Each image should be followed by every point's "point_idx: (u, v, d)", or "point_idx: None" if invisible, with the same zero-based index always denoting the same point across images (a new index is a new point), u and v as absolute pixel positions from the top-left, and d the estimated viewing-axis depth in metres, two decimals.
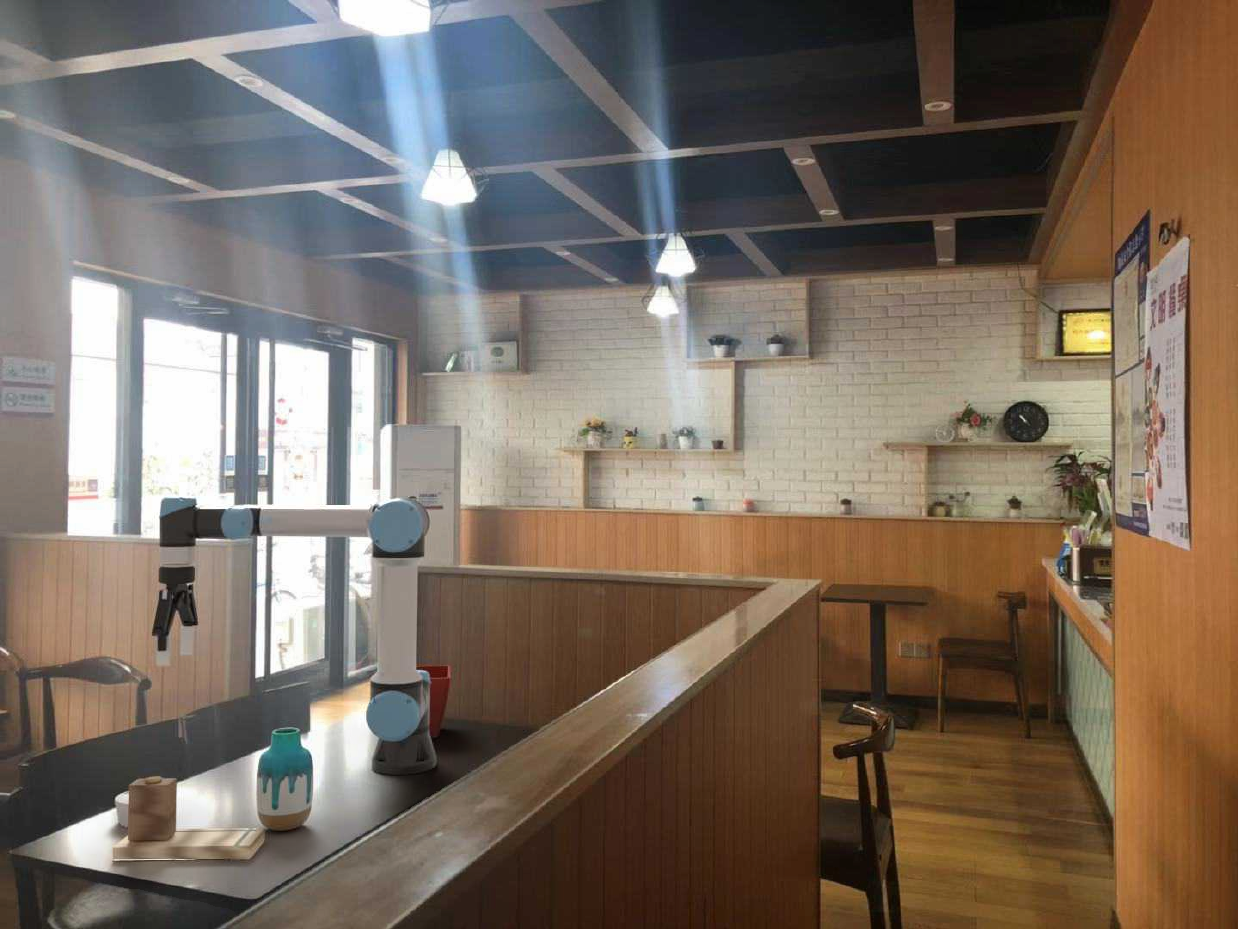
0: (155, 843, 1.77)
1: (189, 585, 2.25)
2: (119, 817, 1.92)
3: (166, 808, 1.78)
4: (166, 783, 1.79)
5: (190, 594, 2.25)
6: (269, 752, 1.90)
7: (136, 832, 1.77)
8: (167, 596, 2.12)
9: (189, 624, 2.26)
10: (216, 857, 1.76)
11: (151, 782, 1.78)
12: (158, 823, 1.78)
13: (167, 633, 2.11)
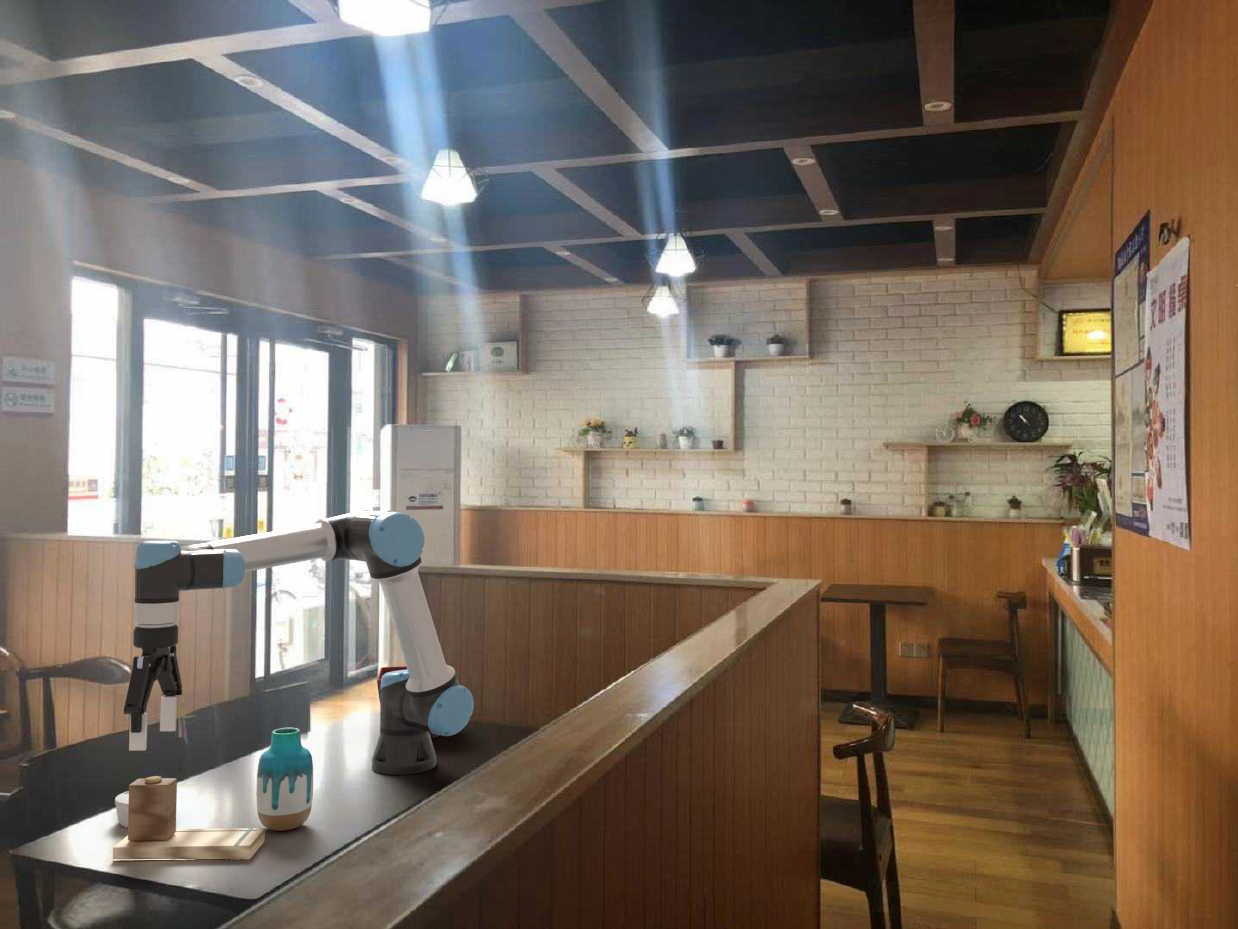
0: (155, 843, 1.77)
1: (171, 647, 1.86)
2: (119, 817, 1.92)
3: (166, 808, 1.78)
4: (166, 783, 1.79)
5: (172, 658, 1.86)
6: (269, 752, 1.90)
7: (136, 832, 1.77)
8: (143, 665, 1.73)
9: (171, 694, 1.87)
10: (216, 857, 1.76)
11: (151, 782, 1.78)
12: (158, 823, 1.78)
13: (142, 711, 1.72)
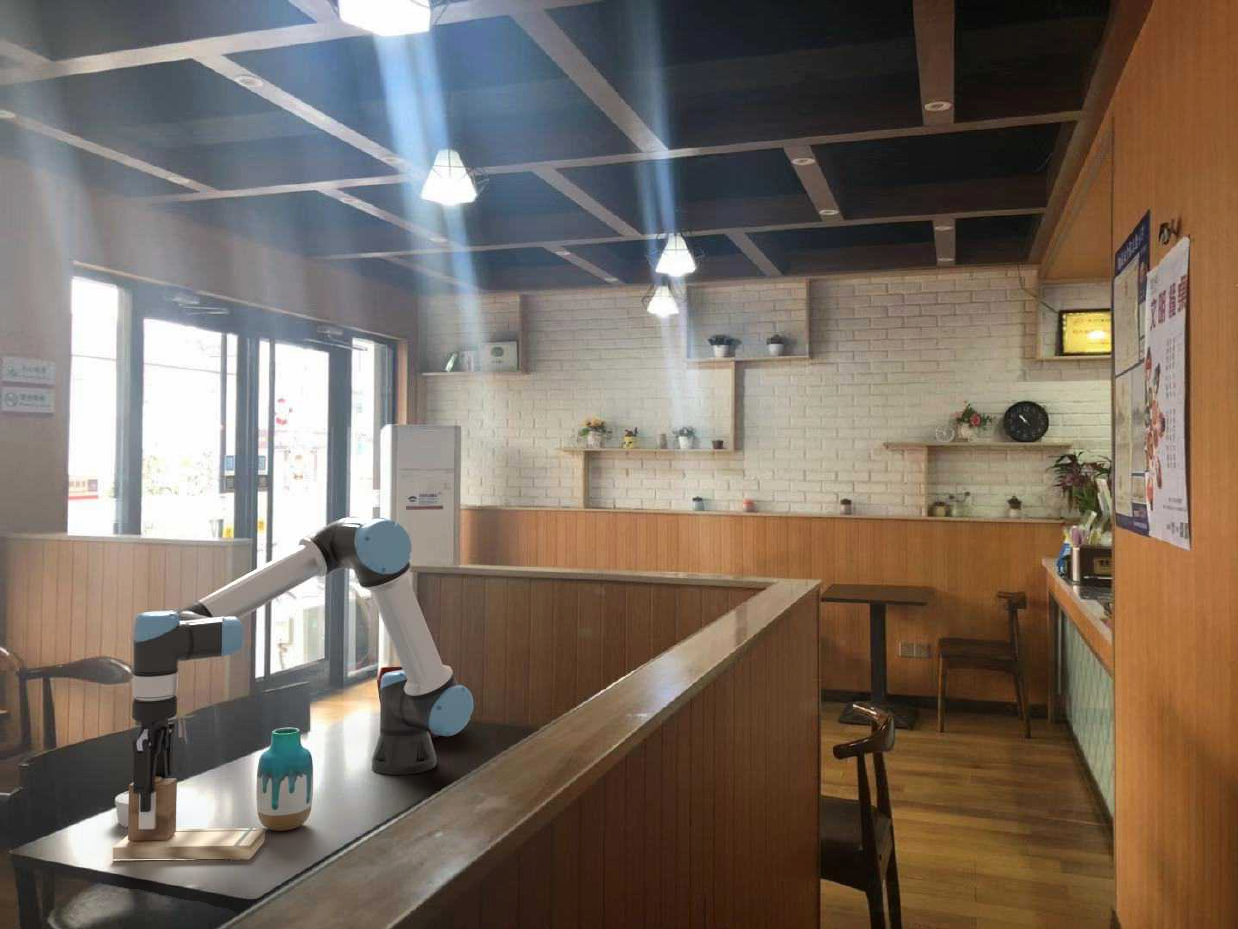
0: (155, 843, 1.77)
1: (170, 723, 1.86)
2: (119, 817, 1.92)
3: (166, 808, 1.78)
4: (166, 783, 1.79)
5: (169, 735, 1.85)
6: (269, 752, 1.90)
7: (136, 832, 1.77)
8: (143, 748, 1.74)
9: None
10: (216, 857, 1.76)
11: None
12: (158, 823, 1.78)
13: (152, 791, 1.76)
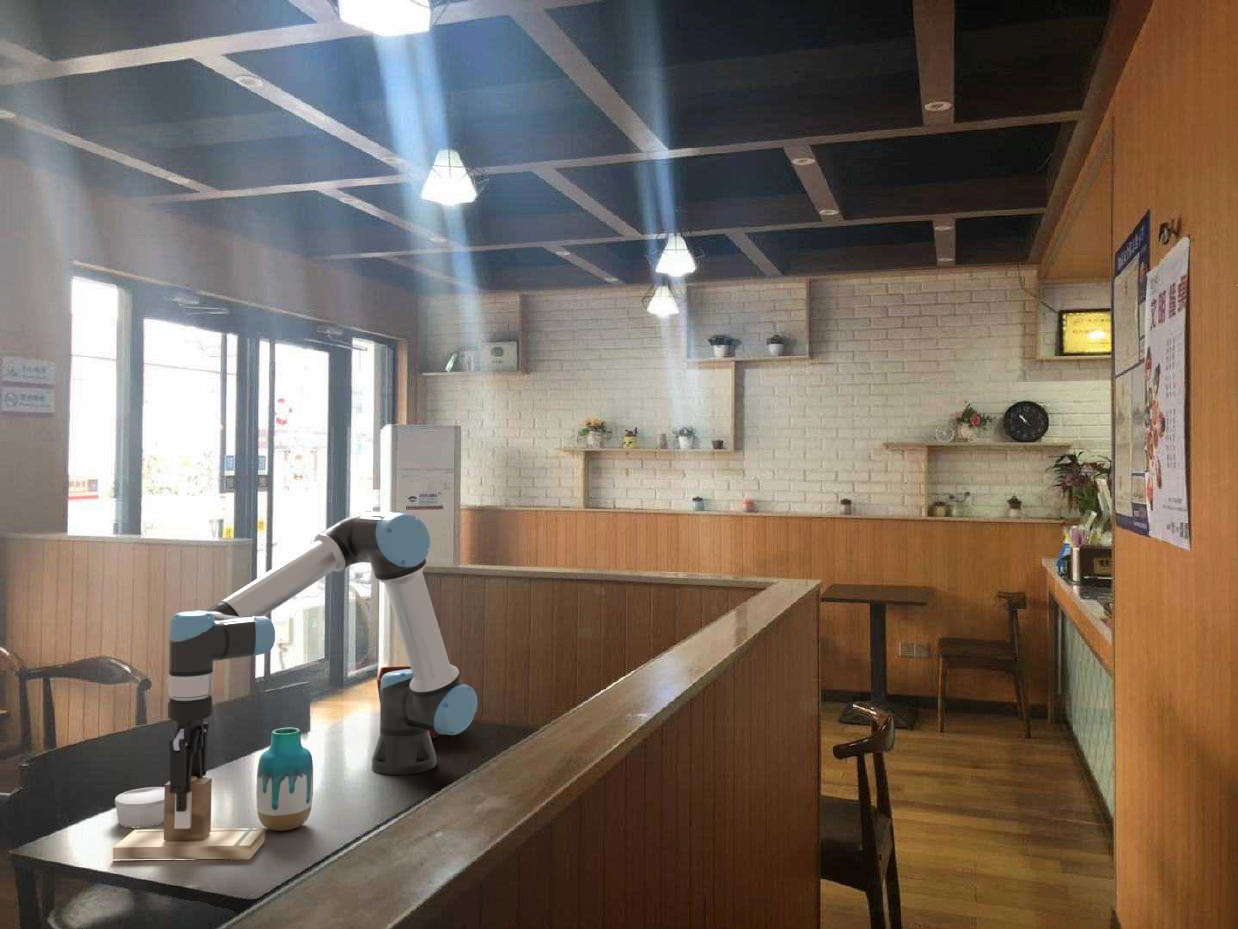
0: (155, 843, 1.77)
1: (204, 723, 1.86)
2: (119, 817, 1.92)
3: (202, 807, 1.78)
4: (201, 783, 1.79)
5: (204, 734, 1.85)
6: (269, 752, 1.90)
7: (172, 831, 1.78)
8: (180, 748, 1.74)
9: None
10: (216, 857, 1.76)
11: None
12: (193, 822, 1.78)
13: (188, 791, 1.77)
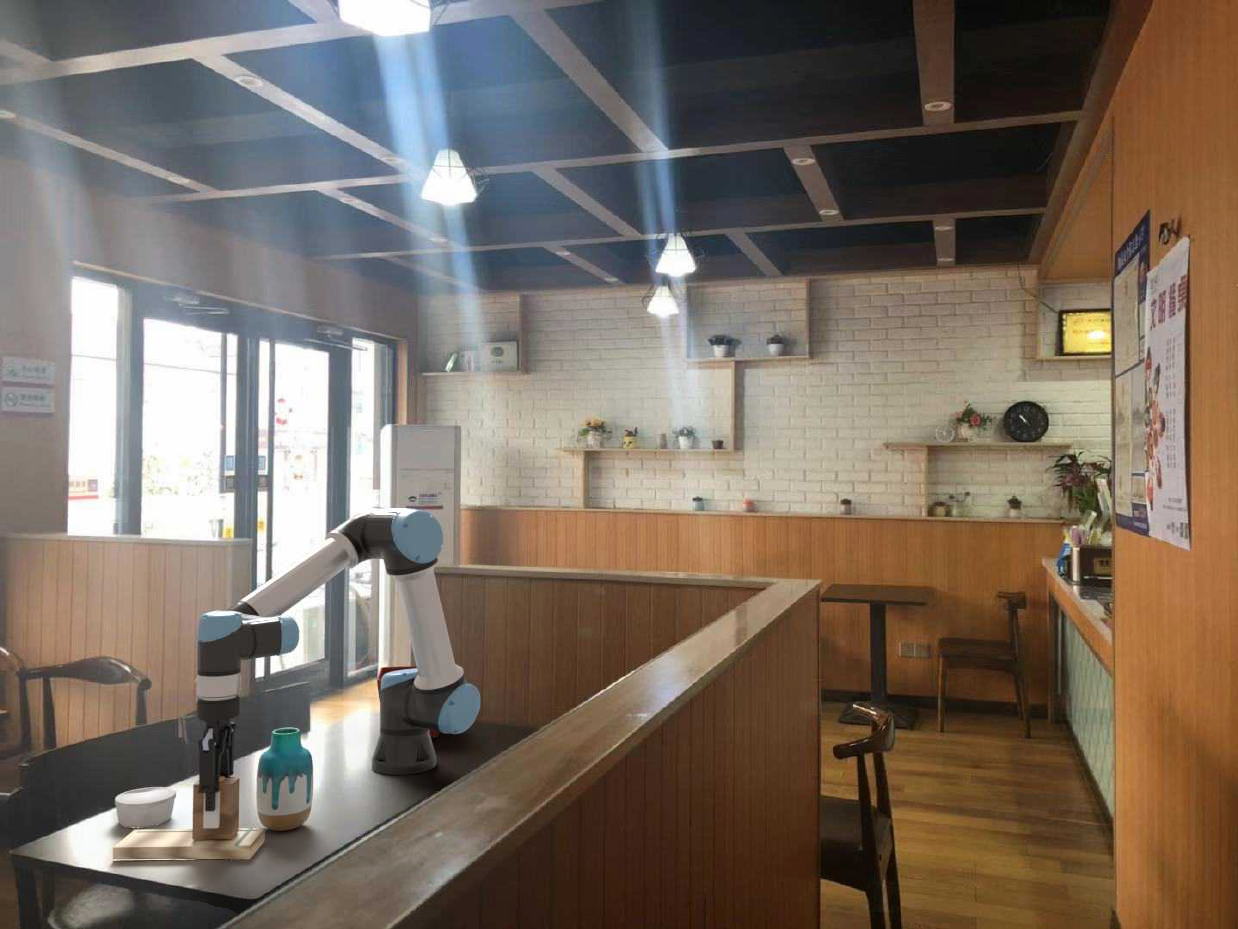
0: (155, 843, 1.77)
1: (231, 723, 1.86)
2: (119, 817, 1.92)
3: (230, 807, 1.79)
4: (230, 782, 1.79)
5: (231, 734, 1.86)
6: (269, 752, 1.90)
7: (201, 831, 1.78)
8: (209, 748, 1.74)
9: None
10: (216, 857, 1.76)
11: None
12: (222, 822, 1.78)
13: (216, 790, 1.77)
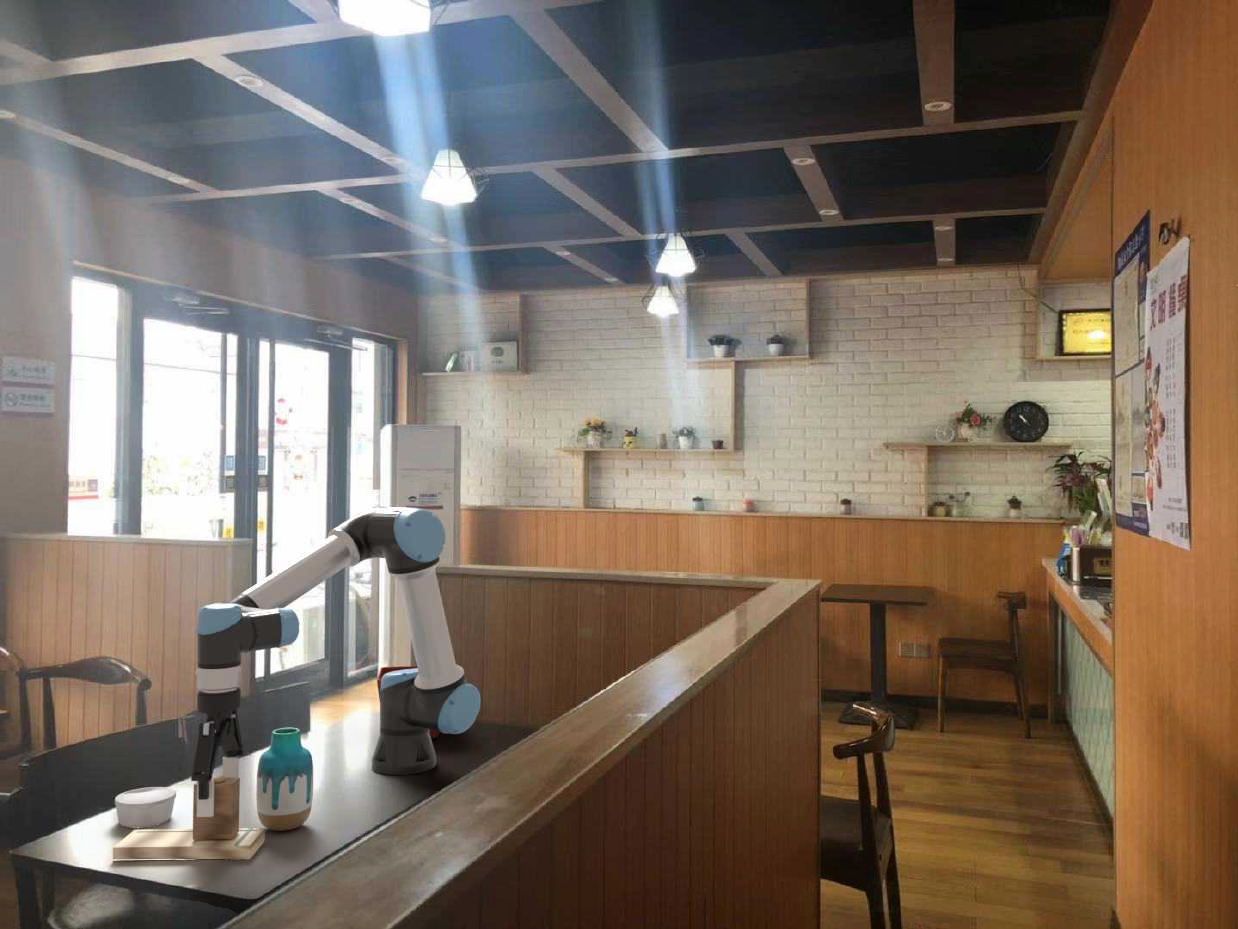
0: (155, 843, 1.77)
1: None
2: (119, 817, 1.92)
3: (231, 807, 1.79)
4: (230, 782, 1.79)
5: (234, 719, 1.87)
6: (269, 752, 1.90)
7: (201, 831, 1.78)
8: (209, 731, 1.74)
9: (233, 754, 1.88)
10: (216, 857, 1.76)
11: (215, 781, 1.79)
12: (222, 822, 1.78)
13: (210, 777, 1.73)
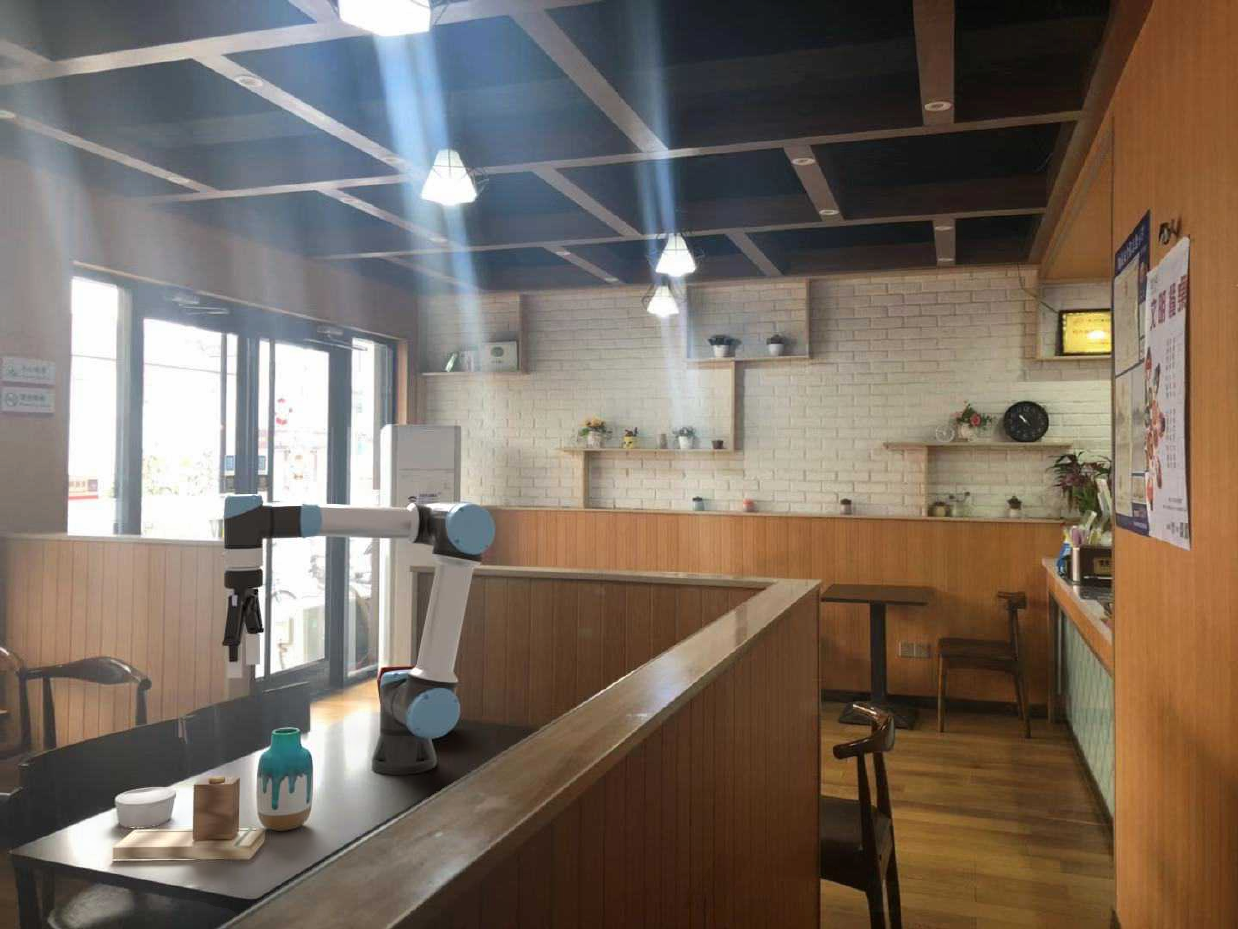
0: (155, 843, 1.77)
1: (254, 589, 2.08)
2: (119, 817, 1.92)
3: (231, 807, 1.79)
4: (230, 782, 1.79)
5: (255, 599, 2.09)
6: (269, 752, 1.90)
7: (201, 831, 1.78)
8: (237, 602, 1.96)
9: (255, 631, 2.10)
10: (216, 857, 1.76)
11: (215, 781, 1.79)
12: (222, 822, 1.78)
13: (239, 642, 1.95)
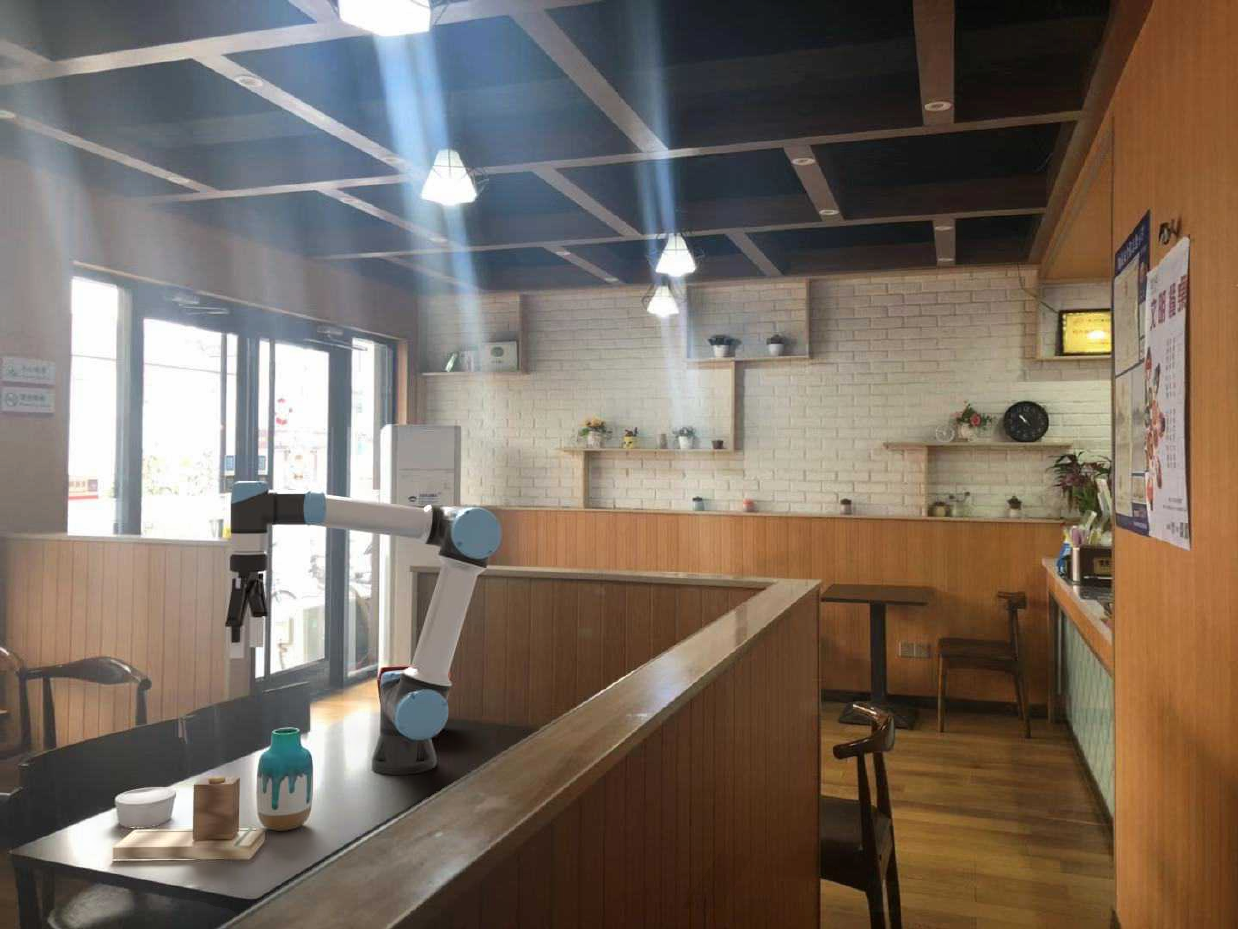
0: (155, 843, 1.77)
1: (259, 574, 2.15)
2: (119, 817, 1.92)
3: (231, 807, 1.79)
4: (230, 782, 1.79)
5: (260, 583, 2.15)
6: (269, 752, 1.90)
7: (201, 831, 1.78)
8: (241, 585, 2.02)
9: (259, 615, 2.16)
10: (216, 857, 1.76)
11: (215, 781, 1.79)
12: (222, 822, 1.78)
13: (241, 624, 2.01)
